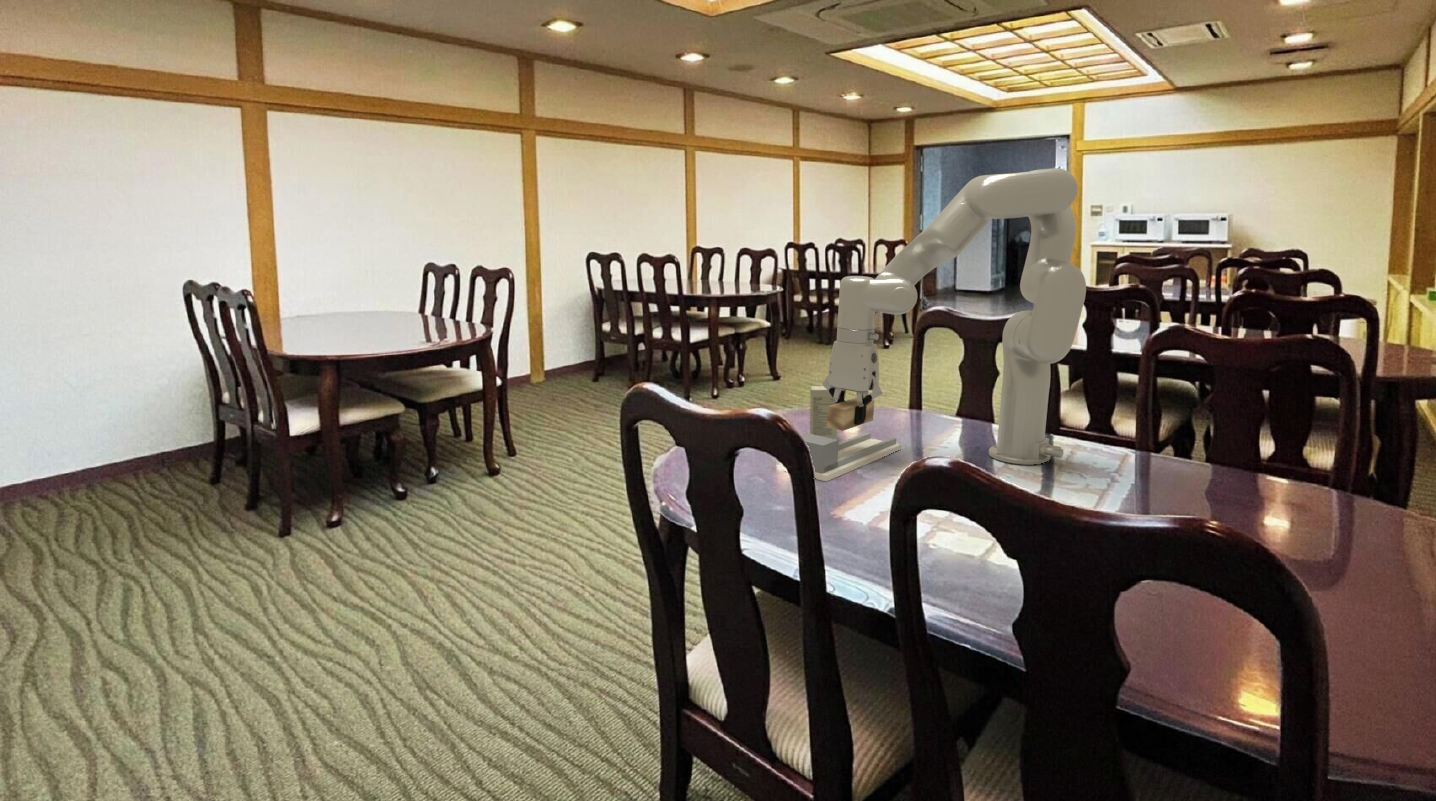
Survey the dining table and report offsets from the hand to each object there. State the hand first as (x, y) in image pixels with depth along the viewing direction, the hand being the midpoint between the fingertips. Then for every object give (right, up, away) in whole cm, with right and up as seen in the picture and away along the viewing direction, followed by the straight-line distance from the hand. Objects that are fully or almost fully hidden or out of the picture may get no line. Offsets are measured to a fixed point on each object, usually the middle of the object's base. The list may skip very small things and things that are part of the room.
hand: (849, 421), depth 182 cm
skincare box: (-4, -5, +17) cm, 18 cm away
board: (-1, -8, 0) cm, 8 cm away
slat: (0, -1, 0) cm, 1 cm away
